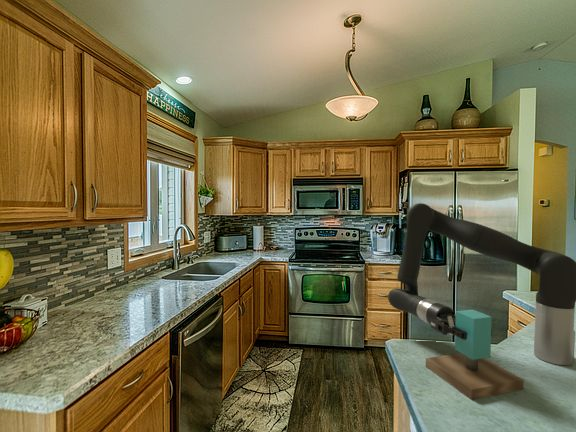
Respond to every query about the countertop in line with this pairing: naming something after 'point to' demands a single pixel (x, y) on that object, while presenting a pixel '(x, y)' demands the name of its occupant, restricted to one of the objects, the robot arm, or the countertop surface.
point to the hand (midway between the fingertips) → (478, 334)
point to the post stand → (474, 375)
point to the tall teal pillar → (474, 334)
